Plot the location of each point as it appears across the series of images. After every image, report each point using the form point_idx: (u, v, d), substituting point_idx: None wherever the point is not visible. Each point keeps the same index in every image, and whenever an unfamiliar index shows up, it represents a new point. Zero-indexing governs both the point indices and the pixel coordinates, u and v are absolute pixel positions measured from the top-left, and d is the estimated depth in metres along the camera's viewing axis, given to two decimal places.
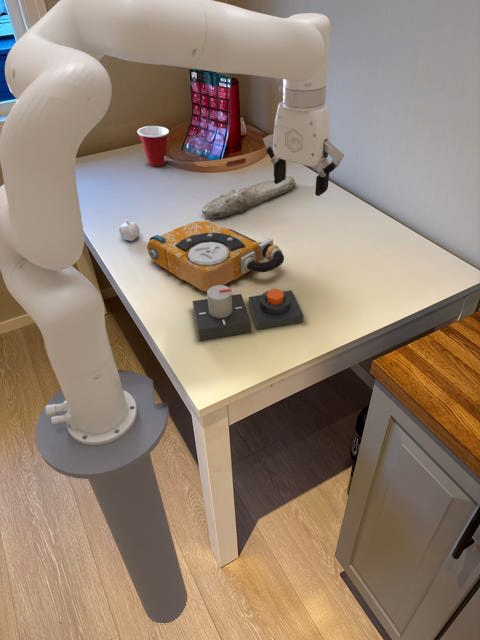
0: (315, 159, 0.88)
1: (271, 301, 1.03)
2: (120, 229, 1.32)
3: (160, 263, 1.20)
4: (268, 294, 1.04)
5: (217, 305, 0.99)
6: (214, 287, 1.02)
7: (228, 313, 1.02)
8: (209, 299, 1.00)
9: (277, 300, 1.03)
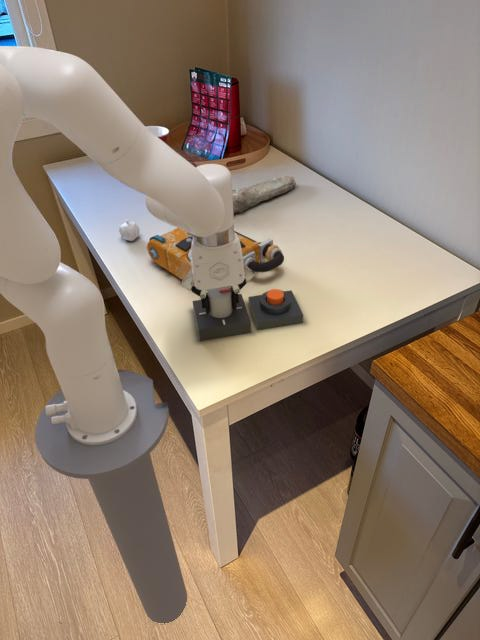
0: (242, 277, 0.96)
1: (271, 301, 1.03)
2: (120, 229, 1.32)
3: (160, 263, 1.20)
4: (268, 294, 1.04)
5: (217, 305, 0.99)
6: None
7: (228, 313, 1.02)
8: (209, 299, 1.00)
9: (277, 300, 1.03)
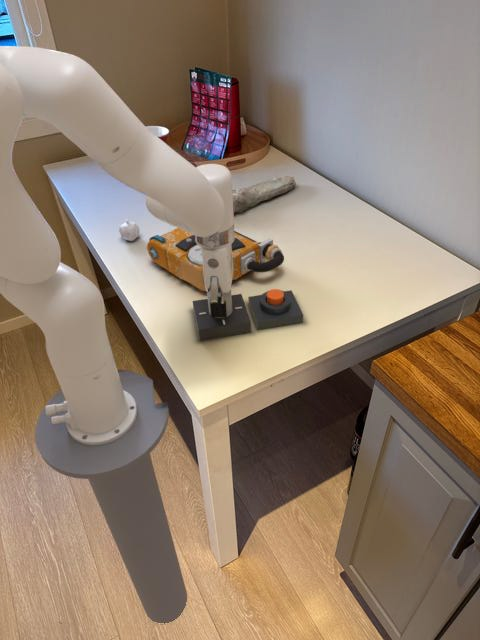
0: None
1: (271, 301, 1.03)
2: (120, 229, 1.32)
3: (160, 263, 1.20)
4: (268, 294, 1.04)
5: (230, 300, 1.01)
6: None
7: None
8: None
9: (277, 300, 1.03)
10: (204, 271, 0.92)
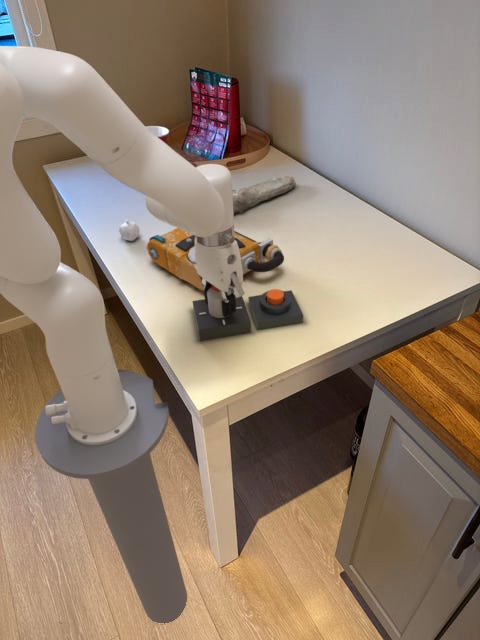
0: None
1: (271, 301, 1.03)
2: (120, 229, 1.32)
3: (160, 263, 1.20)
4: (268, 294, 1.04)
5: None
6: (214, 297, 0.99)
7: None
8: None
9: (277, 300, 1.03)
10: (224, 271, 0.91)
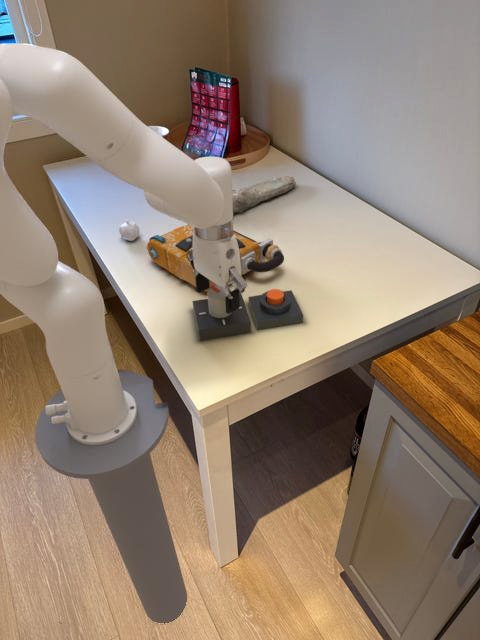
0: None
1: (271, 301, 1.03)
2: (120, 229, 1.32)
3: (160, 263, 1.20)
4: (268, 294, 1.04)
5: None
6: (214, 297, 0.99)
7: None
8: None
9: (277, 300, 1.03)
10: (222, 265, 0.90)
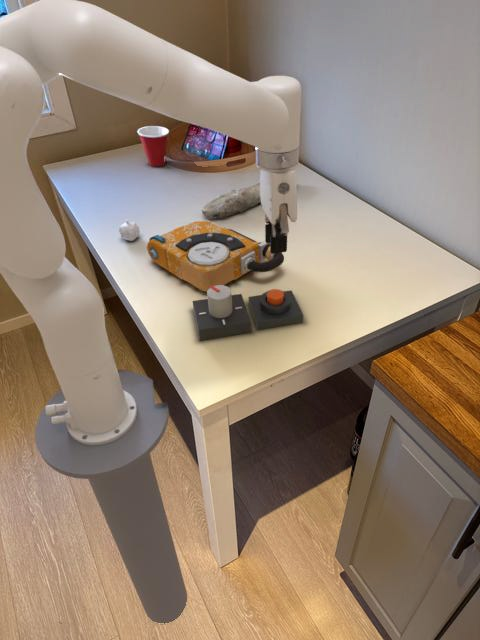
0: None
1: (271, 301, 1.03)
2: (120, 229, 1.32)
3: (160, 263, 1.20)
4: (268, 294, 1.04)
5: None
6: (214, 297, 0.99)
7: None
8: (230, 297, 1.00)
9: (277, 300, 1.03)
10: (273, 199, 0.84)
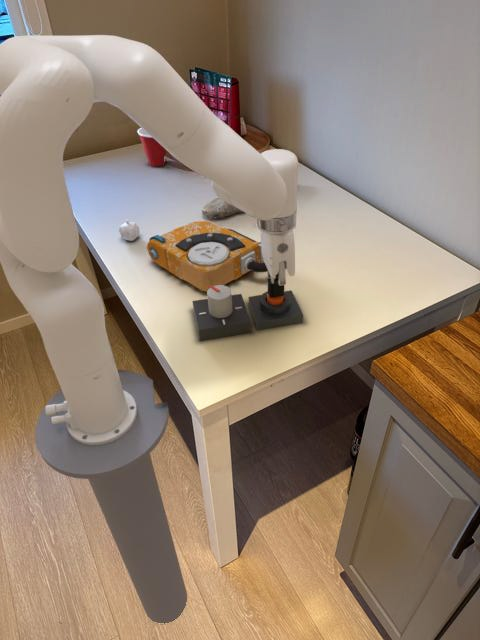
0: None
1: (271, 302, 1.03)
2: (120, 229, 1.32)
3: (160, 263, 1.20)
4: (268, 295, 1.04)
5: None
6: (214, 297, 0.99)
7: None
8: (230, 297, 1.00)
9: (277, 301, 1.03)
10: (273, 257, 0.92)
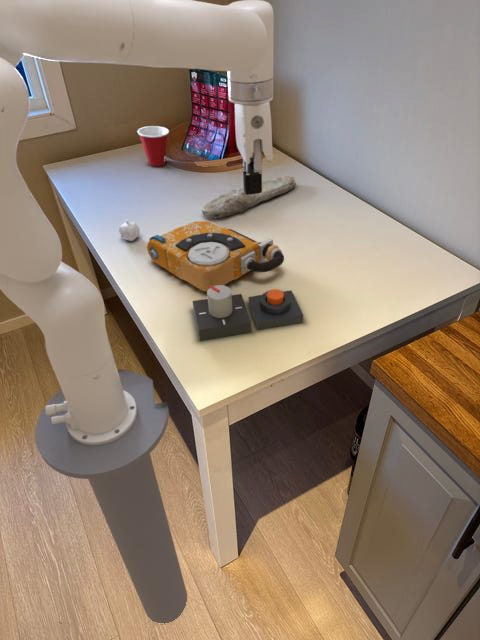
0: None
1: (271, 301, 1.03)
2: (120, 229, 1.32)
3: (160, 263, 1.20)
4: (268, 294, 1.04)
5: None
6: (214, 297, 0.99)
7: None
8: (230, 297, 1.00)
9: (277, 300, 1.03)
10: (246, 134, 0.81)
